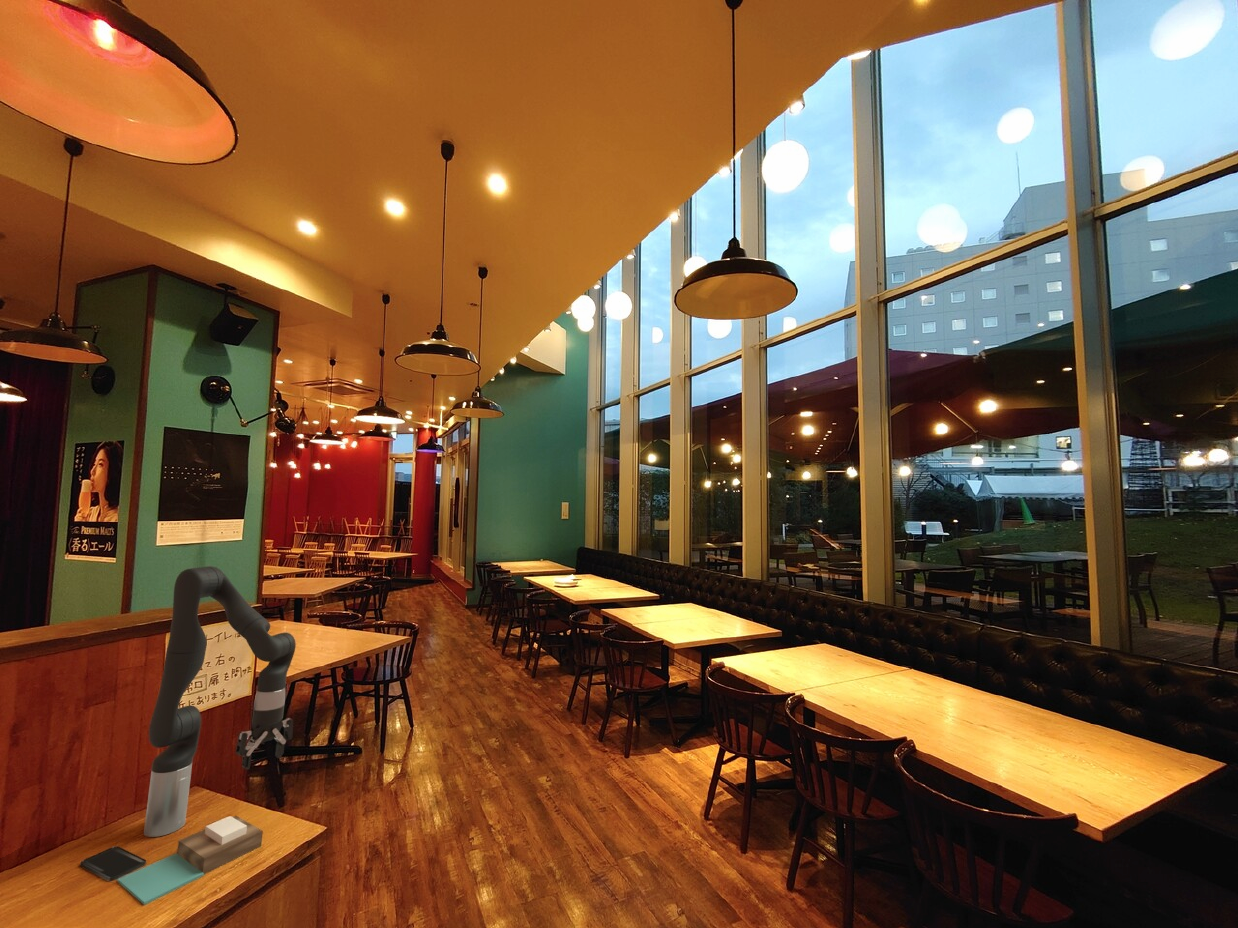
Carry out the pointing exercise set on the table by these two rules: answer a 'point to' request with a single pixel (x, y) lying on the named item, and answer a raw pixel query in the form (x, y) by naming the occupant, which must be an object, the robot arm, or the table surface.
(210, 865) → the block
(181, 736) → the robot arm
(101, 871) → the phone
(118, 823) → the table surface
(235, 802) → the table surface
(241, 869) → the table surface
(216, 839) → the white rectangular block
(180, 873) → the mat
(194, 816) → the table surface
